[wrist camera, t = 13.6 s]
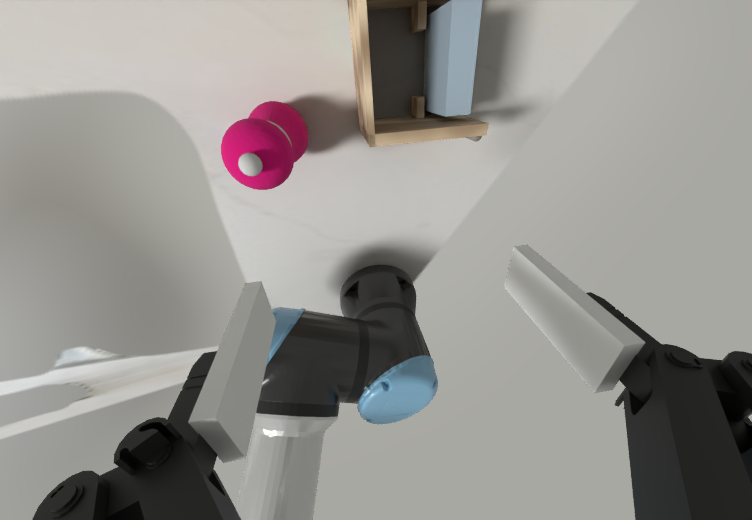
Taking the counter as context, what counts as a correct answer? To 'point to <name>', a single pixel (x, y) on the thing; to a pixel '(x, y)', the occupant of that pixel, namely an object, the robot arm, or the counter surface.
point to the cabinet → (418, 123)
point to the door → (451, 57)
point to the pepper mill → (265, 145)
